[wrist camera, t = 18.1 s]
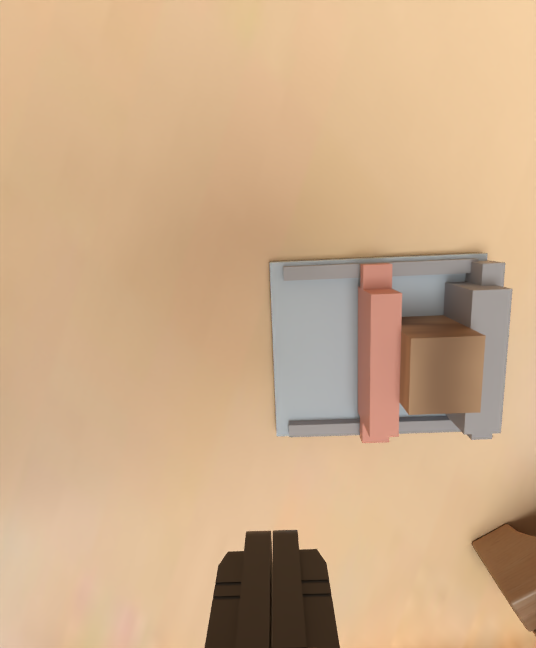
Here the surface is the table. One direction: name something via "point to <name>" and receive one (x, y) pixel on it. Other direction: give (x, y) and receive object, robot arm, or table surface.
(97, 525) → the table surface
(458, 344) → the walnut block
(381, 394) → the bar
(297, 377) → the vise base
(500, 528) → the wooden toy
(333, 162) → the table surface
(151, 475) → the table surface
